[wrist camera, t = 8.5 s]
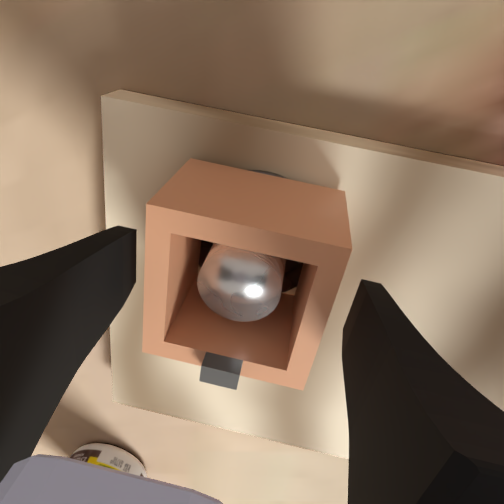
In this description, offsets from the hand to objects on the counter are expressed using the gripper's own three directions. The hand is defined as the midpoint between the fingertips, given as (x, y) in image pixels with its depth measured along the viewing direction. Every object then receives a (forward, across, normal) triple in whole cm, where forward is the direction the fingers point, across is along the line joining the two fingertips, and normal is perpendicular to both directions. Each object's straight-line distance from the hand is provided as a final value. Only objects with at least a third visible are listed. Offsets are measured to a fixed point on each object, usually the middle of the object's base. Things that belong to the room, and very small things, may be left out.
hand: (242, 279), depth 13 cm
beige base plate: (+4, -4, +4) cm, 7 cm away
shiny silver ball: (+4, 0, 0) cm, 4 cm away
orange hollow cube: (+3, 0, 0) cm, 3 cm away
